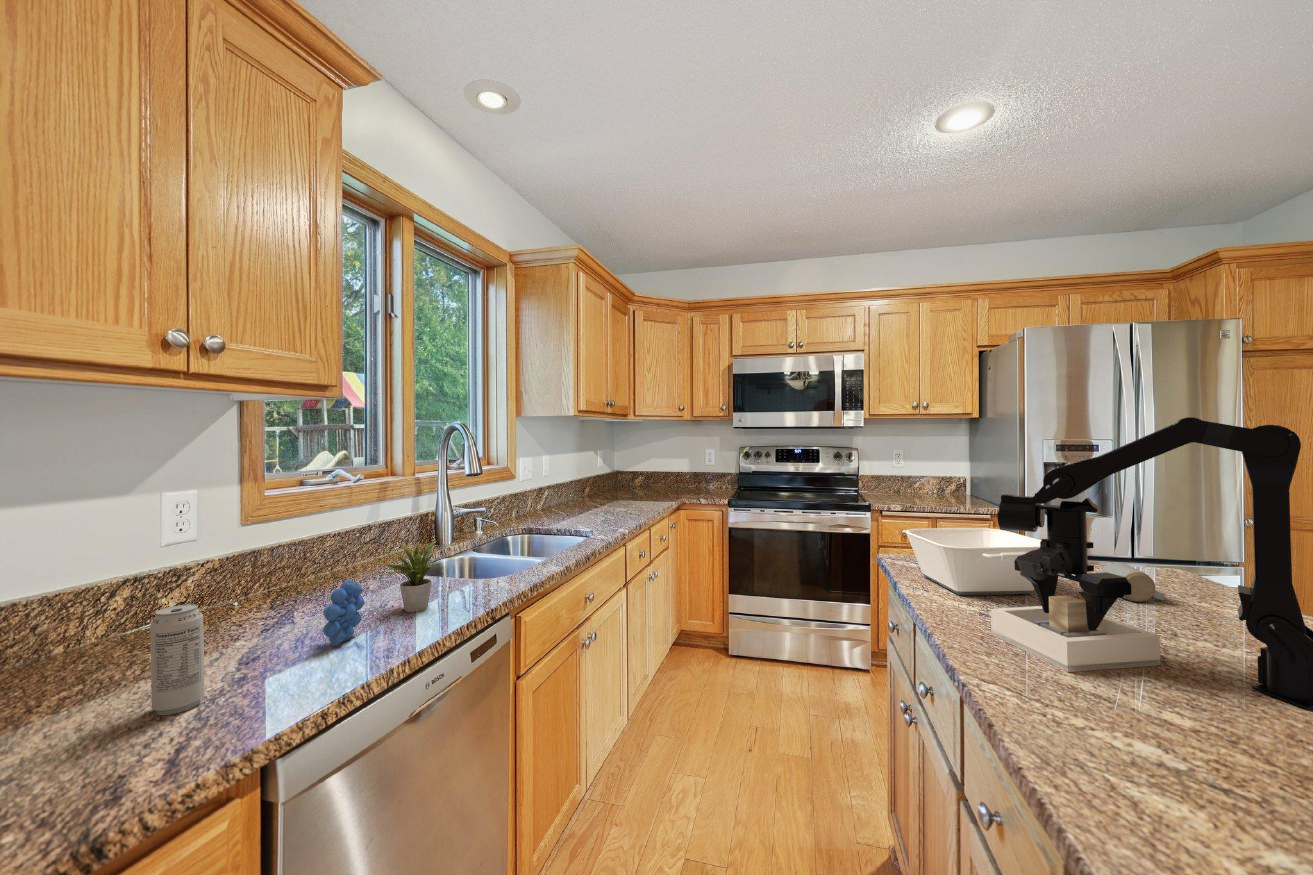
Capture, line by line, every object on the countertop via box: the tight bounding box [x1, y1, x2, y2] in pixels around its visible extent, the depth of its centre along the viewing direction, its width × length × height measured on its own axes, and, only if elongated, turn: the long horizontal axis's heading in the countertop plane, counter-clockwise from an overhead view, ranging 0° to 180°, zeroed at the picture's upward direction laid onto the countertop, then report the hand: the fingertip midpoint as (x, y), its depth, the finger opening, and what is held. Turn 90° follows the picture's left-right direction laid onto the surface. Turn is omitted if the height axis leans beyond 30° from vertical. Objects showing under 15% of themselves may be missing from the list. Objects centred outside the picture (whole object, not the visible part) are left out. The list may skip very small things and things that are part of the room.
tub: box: [905, 527, 1042, 596], centre depth 137 cm, size 34×27×13 cm
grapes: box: [322, 579, 366, 646], centre depth 108 cm, size 12×7×12 cm, turn 179°
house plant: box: [379, 540, 443, 613], centre depth 129 cm, size 14×14×16 cm
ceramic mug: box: [1100, 561, 1166, 603], centre depth 124 cm, size 11×8×8 cm
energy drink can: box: [149, 603, 205, 716], centre depth 82 cm, size 6×6×15 cm
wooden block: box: [1049, 595, 1089, 633], centre depth 96 cm, size 4×4×8 cm
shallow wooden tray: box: [990, 605, 1161, 673], centre depth 96 cm, size 17×17×5 cm
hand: (1068, 621), depth 96 cm, fingers open, 9 cm apart
